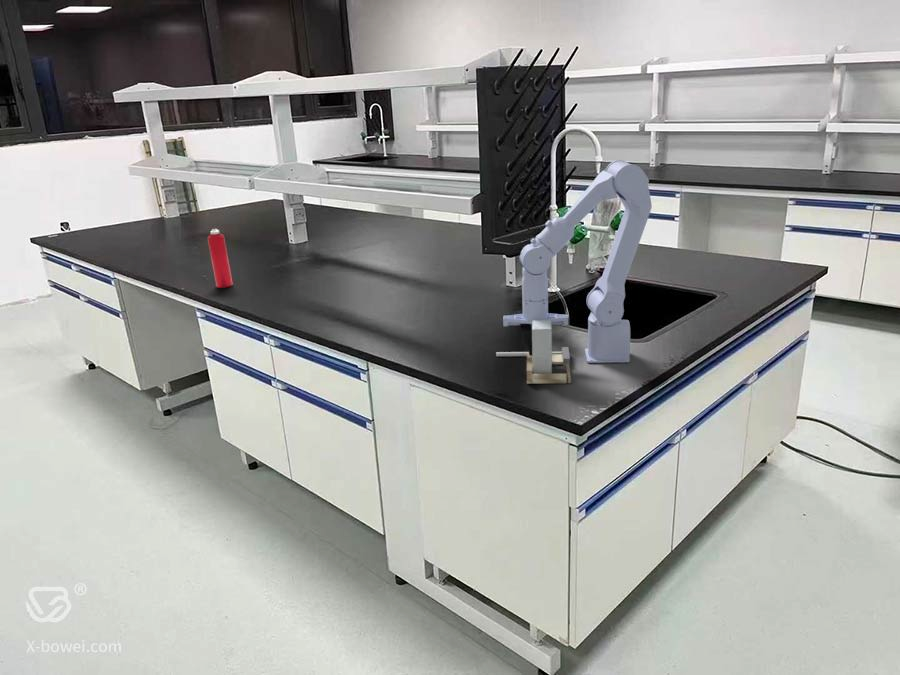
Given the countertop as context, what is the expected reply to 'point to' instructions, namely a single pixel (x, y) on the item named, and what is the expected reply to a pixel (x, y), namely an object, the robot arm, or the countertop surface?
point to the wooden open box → (547, 377)
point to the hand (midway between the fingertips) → (535, 354)
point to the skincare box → (541, 347)
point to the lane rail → (564, 354)
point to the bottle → (219, 259)
